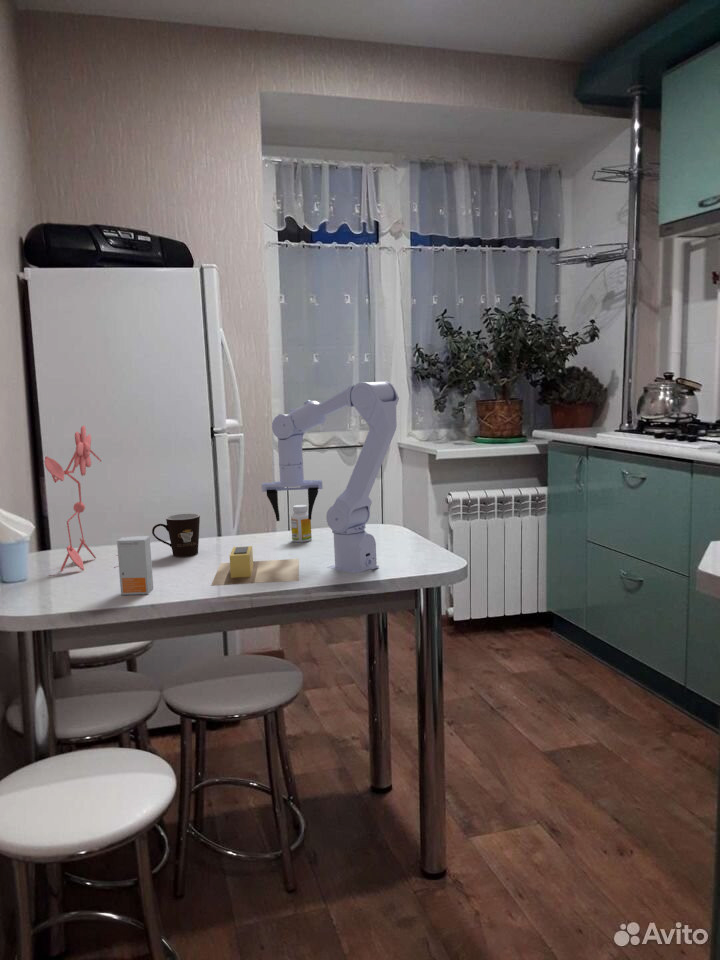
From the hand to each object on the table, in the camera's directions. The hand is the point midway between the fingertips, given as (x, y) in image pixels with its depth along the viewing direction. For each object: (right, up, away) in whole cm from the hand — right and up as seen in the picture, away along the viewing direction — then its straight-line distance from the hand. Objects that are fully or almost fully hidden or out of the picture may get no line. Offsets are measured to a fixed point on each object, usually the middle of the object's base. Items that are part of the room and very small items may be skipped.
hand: (293, 519), depth 183 cm
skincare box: (-32, -15, -21) cm, 41 cm away
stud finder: (-11, -12, -9) cm, 19 cm away
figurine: (-50, -12, +6) cm, 52 cm away
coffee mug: (-31, -10, +14) cm, 35 cm away
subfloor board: (-8, -12, -9) cm, 17 cm away
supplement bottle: (0, -7, +25) cm, 26 cm away
